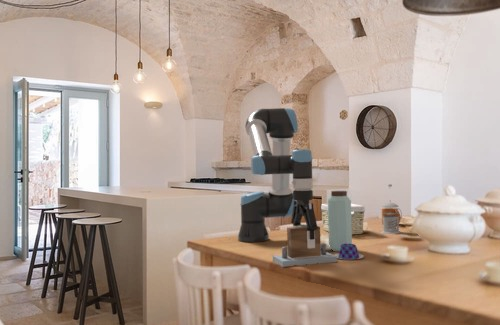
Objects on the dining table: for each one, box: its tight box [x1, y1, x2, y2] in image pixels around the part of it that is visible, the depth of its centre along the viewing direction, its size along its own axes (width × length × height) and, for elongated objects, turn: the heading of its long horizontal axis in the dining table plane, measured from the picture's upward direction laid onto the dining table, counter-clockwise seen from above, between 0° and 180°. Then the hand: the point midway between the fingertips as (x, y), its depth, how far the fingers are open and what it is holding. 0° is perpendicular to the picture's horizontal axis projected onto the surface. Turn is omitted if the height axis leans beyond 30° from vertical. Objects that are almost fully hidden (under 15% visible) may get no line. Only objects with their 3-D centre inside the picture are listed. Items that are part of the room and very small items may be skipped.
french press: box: [381, 183, 403, 235], centre depth 246 cm, size 10×12×25 cm
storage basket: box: [320, 203, 366, 236], centre depth 251 cm, size 24×16×15 cm
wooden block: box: [286, 225, 322, 258], centre depth 182 cm, size 4×12×11 cm, turn 106°
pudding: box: [334, 243, 365, 261], centre depth 187 cm, size 12×12×5 cm
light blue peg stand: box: [272, 243, 338, 268], centre depth 182 cm, size 11×22×6 cm, turn 106°
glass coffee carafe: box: [381, 207, 402, 225], centre depth 274 cm, size 9×12×9 cm
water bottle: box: [327, 190, 353, 252], centre depth 203 cm, size 10×10×25 cm
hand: (304, 245), depth 182 cm, fingers open, 13 cm apart
